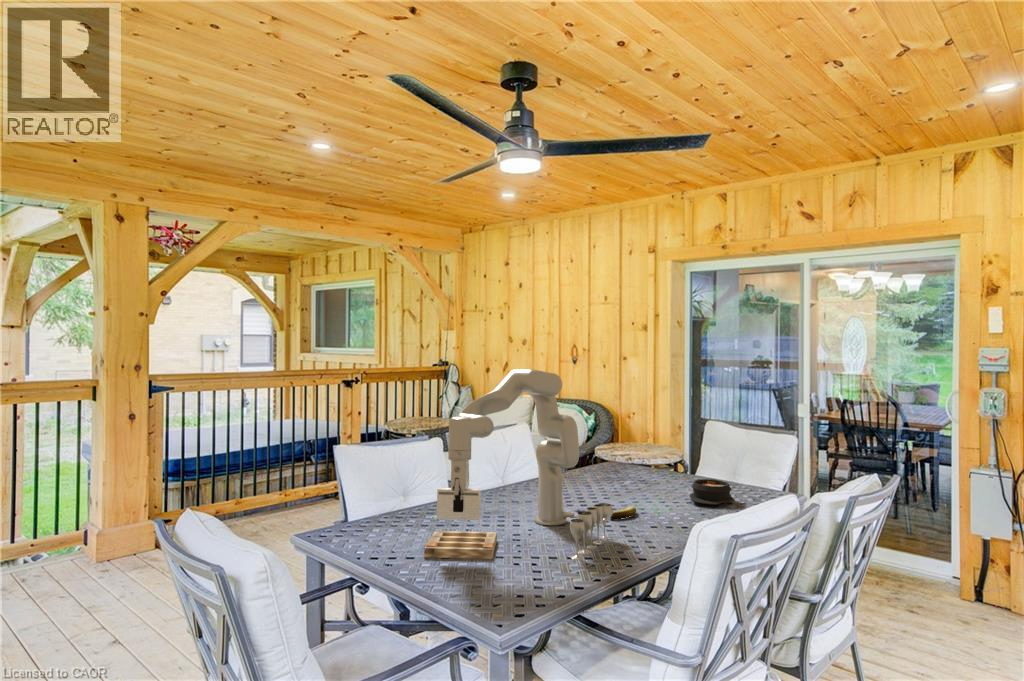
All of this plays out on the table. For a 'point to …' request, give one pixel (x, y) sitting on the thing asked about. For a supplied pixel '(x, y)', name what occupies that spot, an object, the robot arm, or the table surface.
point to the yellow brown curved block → (623, 513)
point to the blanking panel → (469, 504)
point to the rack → (461, 545)
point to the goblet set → (589, 525)
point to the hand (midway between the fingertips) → (458, 510)
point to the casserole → (711, 492)
